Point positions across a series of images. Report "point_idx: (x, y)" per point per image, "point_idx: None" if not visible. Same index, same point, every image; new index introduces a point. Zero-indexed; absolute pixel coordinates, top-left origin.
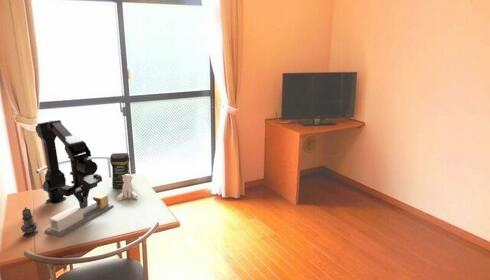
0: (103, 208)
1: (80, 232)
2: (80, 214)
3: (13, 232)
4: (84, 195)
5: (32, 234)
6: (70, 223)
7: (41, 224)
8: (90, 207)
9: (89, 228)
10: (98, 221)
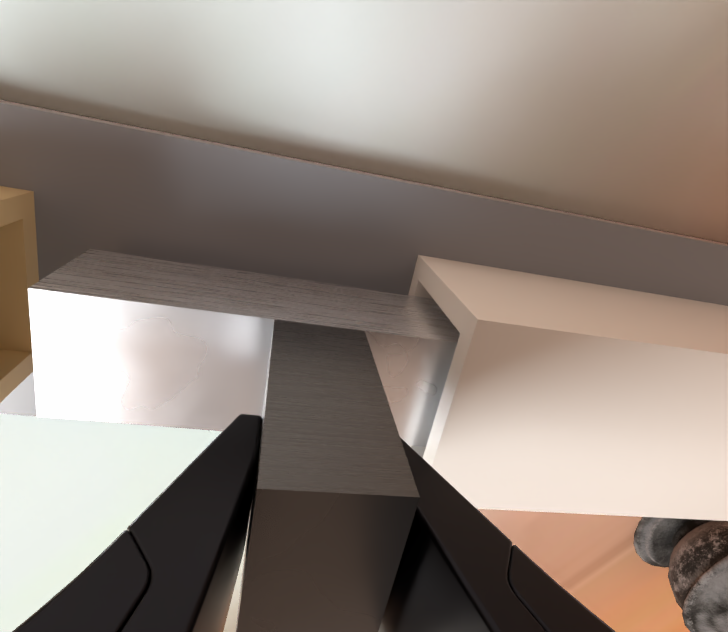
0: (20, 163)
1: (691, 82)
2: (488, 290)
3: (661, 624)
4: (258, 567)
5: None
6: (628, 297)
7: (540, 561)
8: (230, 293)
9: (593, 18)
10: (384, 7)
